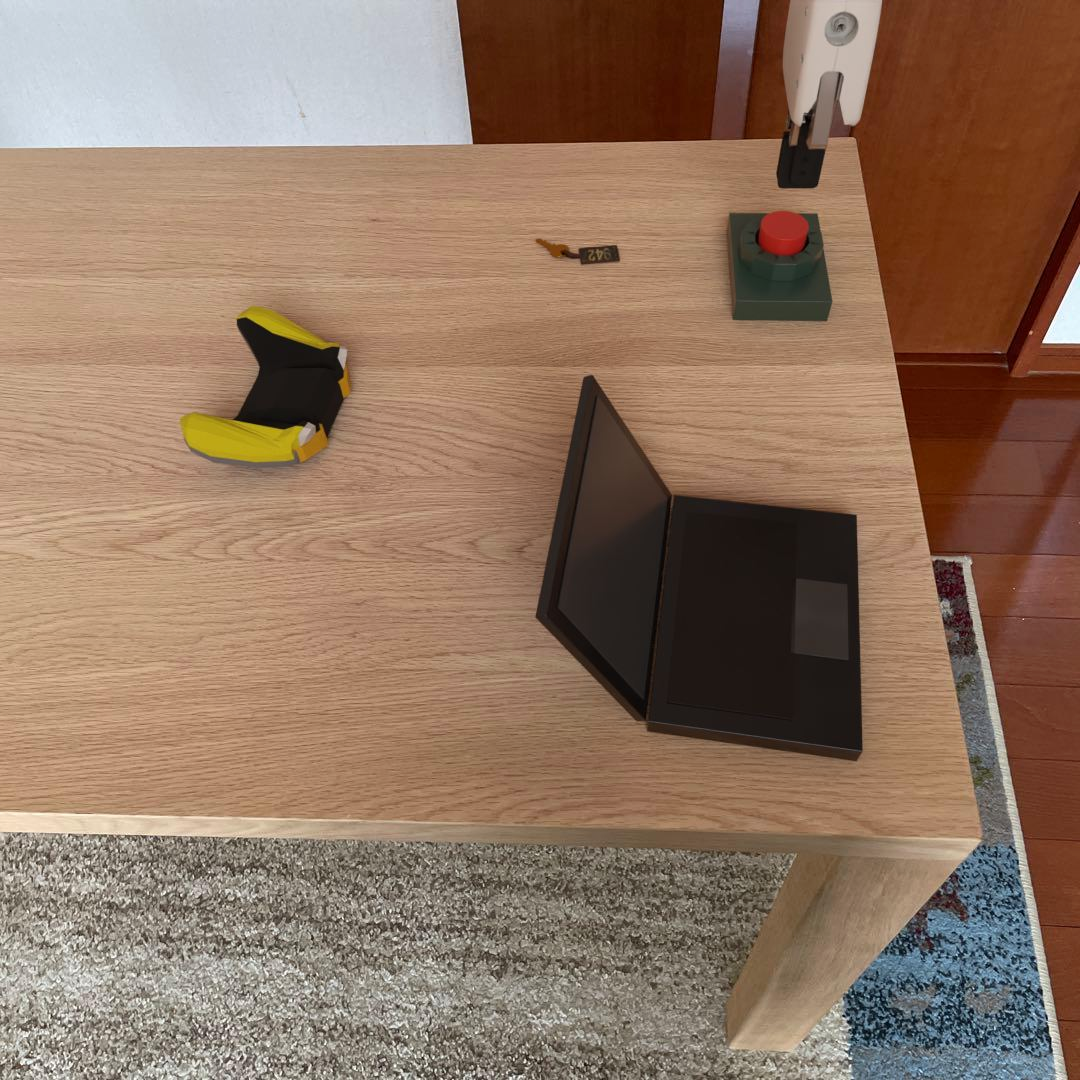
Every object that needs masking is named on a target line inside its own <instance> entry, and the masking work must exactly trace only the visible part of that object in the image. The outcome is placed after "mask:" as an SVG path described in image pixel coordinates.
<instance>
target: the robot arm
mask: <svg viewBox="0 0 1080 1080" xmlns="http://www.w3.org/2000/svg"><path fill="white" fill-rule="evenodd" d="M882 5H883V0H790V2H789V7H788V13H787V19H786V27H785V33H784V40H783V52H782V73H783V80H784V87H785V95H786V99H787V106H788V107H787V114H786V119H785V128H786V129H785V130H787V131H782V137H781V143H780V148H779V155H778V159H777V166H776V171H775V173H776V174H775V175H776V179H777V180H776V181H777V182H776V183H777V187H778V188H779V189H783V190H784V189H791V190H793V189H794V190H795V189H816V188H817V187H818V186H819V183H820V178H821V173H822V169H823V164H824V159H825V155H826V152H827V151H826V150H827V148H828V145H829V138H830V133H831V129H832V125H833V121H834V117H835V113H836V109H837V105H838V104H839V107H840V111H841V112H840V113H841V116H842V121H843V125H844V126H849V127H855V126H856V125H857V124H858V123H859V122H860V121H861V118H862V113H863V109H864V105H865V99H866V93H867V88H868V83H869V79H870V74H871V69H872V65H873V64H872V63H873V58H874V53H875V48H876V43H877V37H878V31H879V26H880V19H881V14H882V13H881V12H882ZM838 102H839V103H838Z"/></svg>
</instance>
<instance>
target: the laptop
mask: <svg viewBox="0 0 1080 1080" xmlns="http://www.w3.org/2000/svg"><path fill="white" fill-rule="evenodd" d="M858 545H859V544H858V515H857V514H854V513H845V512H835V511H827V510H826V511H825V510H817V509H809V508H808V509H807V508H800V507H790V506H789V507H788V506H779V505H771V504H761V503H752V502H742V501H736V500H735V501H733V500H725V499H716V498H707V497H696V496H689V495H681V494H680V495H679V494H674V495H673V497H672V505H671V514H670V522H669V531H668V540H667V549H666V551H667V552H666V558H665V566H664V568H665V569H664V575H663V584H662V593H661V595H662V596H661V601H660V602H661V603H660V604H661V605H660V610H659V619H658V621H659V622H658V628H657V629H658V630H657V636H656V645H655V654H654V656H655V657H654V663H653V664H654V665H653V672H652V680H651V682H652V683H651V689H650V690H651V691H650V698H649V699H650V700H649V707H648V708H649V709H648V715H647V717H648V718H647V726H646V732H649V733H656V734H662V735H668V736H669V735H670V736H677V737H684V738H691V739H697V740H703V741H704V740H705V741H711V742H719V743H726V744H733V745H738V746H739V745H740V746H746V747H754V748H761V749H767V750H775V751H780V752H781V751H782V752H787V753H794V754H795V753H796V754H803V755H809V756H810V755H811V756H815V757H824V758H829V759H837V760H845V761H851V762H857V761H858V760H859V758H860V757H861V755H862V753H863V752H864V749H863V748H864V746H863V705H862V704H863V701H862V665H861V664H862V663H861V629H860V628H861V626H860V624H861V623H860V588H859V587H860V586H859V550H858V549H859V546H858Z"/></svg>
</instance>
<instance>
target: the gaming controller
mask: <svg viewBox="0 0 1080 1080" xmlns="http://www.w3.org/2000/svg"><path fill="white" fill-rule="evenodd" d="M236 327H237V330H238V332H239V334H240V336H241V337H242V339H243V340H244V342H245V344H246V345H247V347H248V349H249V351H250V352H251V354H252V356H253V357H254V359H255V361H256V363H257V365H258V368H259V369H258V372H257V376H256V378H255V380H254V382H253V384H252V386H251V388H250V390H249V392H248V394H247V395H246V398H245V399H244V402H243V404H242V406H241V408H240V410H239V412H238V414H237V415H236V416H235V417H234V418H233V419H228V418H224V417H221V416H216V415H211V414H205V413H200V412H195V411H193V412H190V413H188V414H185V415H182V416H181V417H180V418H179V425H180V428H181V431H182V437H183V441H184V442H185V444H186V446H187V447H188V449H189V451H190V453H192V454H195V455H196V456H199V457H201V458H204V459H205V460H207V461H210V462H212V463H214V464H221V465H228V466H229V465H230V466H237V467H245V468H253V469H267V468H282V467H284V468H285V467H291V466H295V465H300V464H303V463H305V462H306V461H308V460H309V459H310V458H312V457H314V455H316V454H317V453H319V452H321V451H323V450H325V448H326V447H327V446H329V441H328V437H329V434H330V432H331V430H332V428H333V425H334V423H335V420H336V418H337V415H338V414H339V412H340V409H341V407H342V404H343V402H344V400H345V398H346V397H347V396H349V395H350V394H351V393H352V392H351V391H352V384H351V379H350V378H351V377H350V371H349V365H348V362H347V356H348V347H346V346H342V345H340V343H339V342H328V341H325V340H324V339H322V338H320V337H319V336H317V335H315V334H313V333H311V332H310V331H308V330H307V329H305V328H303V327H301V326H300V325H298V324H297V323H295V322H293V321H291V320H289V319H288V318H286V317H284V316H283V315H281V314H279V313H277V312H276V311H274V310H272V309H269V308H266V307H261V306H257V305H252V306H250V307H248V308H247V309H245V310H243V311H242V312H240V313H239V314H238V315H237V316H236Z"/></svg>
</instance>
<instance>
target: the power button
mask: <svg viewBox="0 0 1080 1080" xmlns="http://www.w3.org/2000/svg"><path fill="white" fill-rule="evenodd" d="M768 213H769V214H768V215H766V216H765V217H764V218H763V219H762V221H761V226H760V231H759V237H758V243H759V246H760V247H761V248H762V249H763V250H764V251H767V252H769V253H772V254H775V255H794V254H797V253H799V252H800V251H801V250H802V249H803V248H804V246H805V242H806V238H807V233H808V229H809V226H808V223H807V221H806V219H805V218H804V217H802V216H801V215H799V214H797V212H794V211H790V210H775V211H773V212H768Z"/></svg>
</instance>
